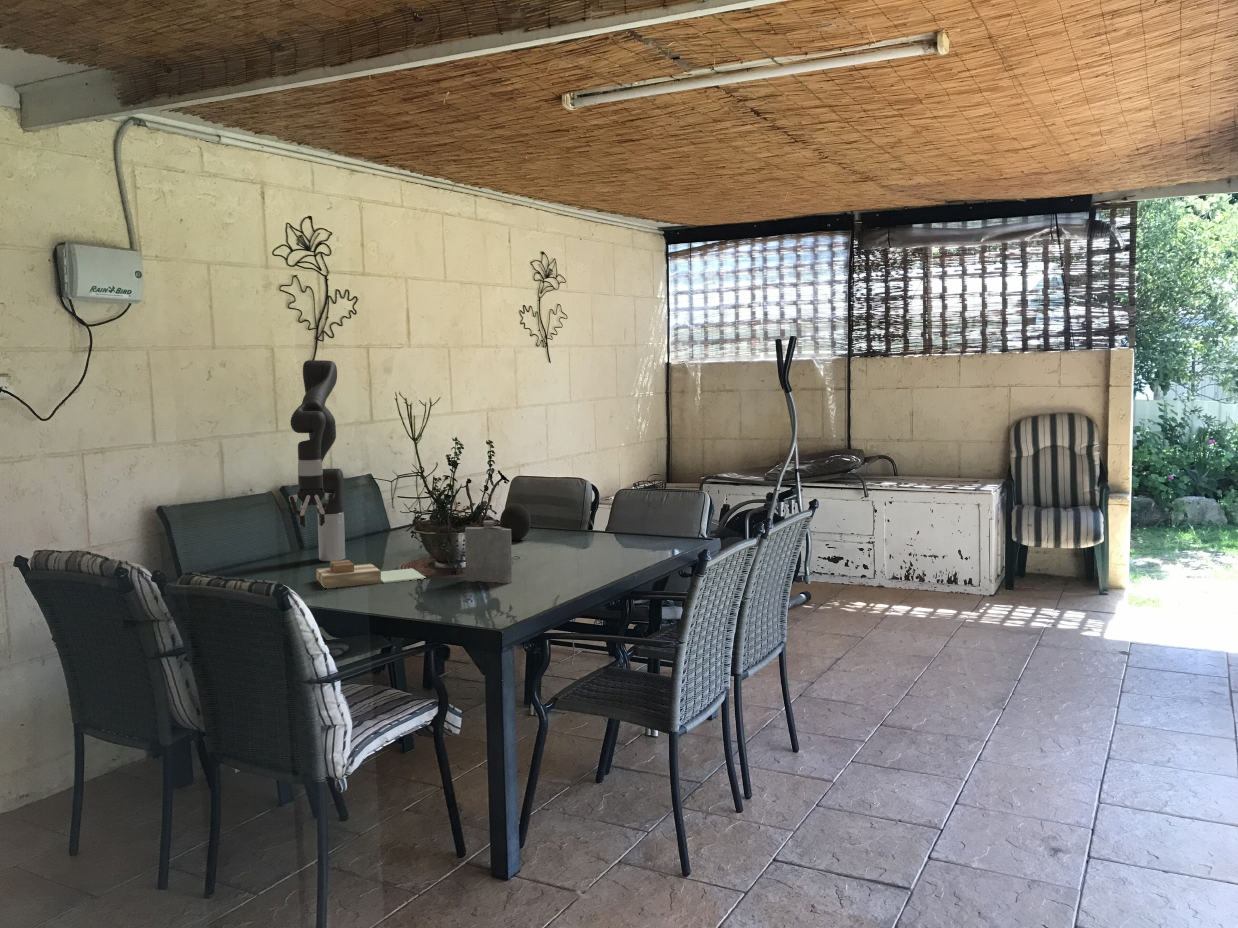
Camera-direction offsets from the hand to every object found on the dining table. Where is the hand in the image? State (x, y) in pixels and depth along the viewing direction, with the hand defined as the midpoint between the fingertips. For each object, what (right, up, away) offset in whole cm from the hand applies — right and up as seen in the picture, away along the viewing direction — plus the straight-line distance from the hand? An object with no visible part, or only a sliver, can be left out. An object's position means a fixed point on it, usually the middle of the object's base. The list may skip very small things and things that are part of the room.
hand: (312, 526), depth 316 cm
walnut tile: (+8, -14, +6) cm, 17 cm away
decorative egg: (+57, -11, +81) cm, 99 cm away
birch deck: (+10, -19, +7) cm, 22 cm away
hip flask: (+56, -19, +7) cm, 59 cm away
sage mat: (+24, -18, +15) cm, 34 cm away
